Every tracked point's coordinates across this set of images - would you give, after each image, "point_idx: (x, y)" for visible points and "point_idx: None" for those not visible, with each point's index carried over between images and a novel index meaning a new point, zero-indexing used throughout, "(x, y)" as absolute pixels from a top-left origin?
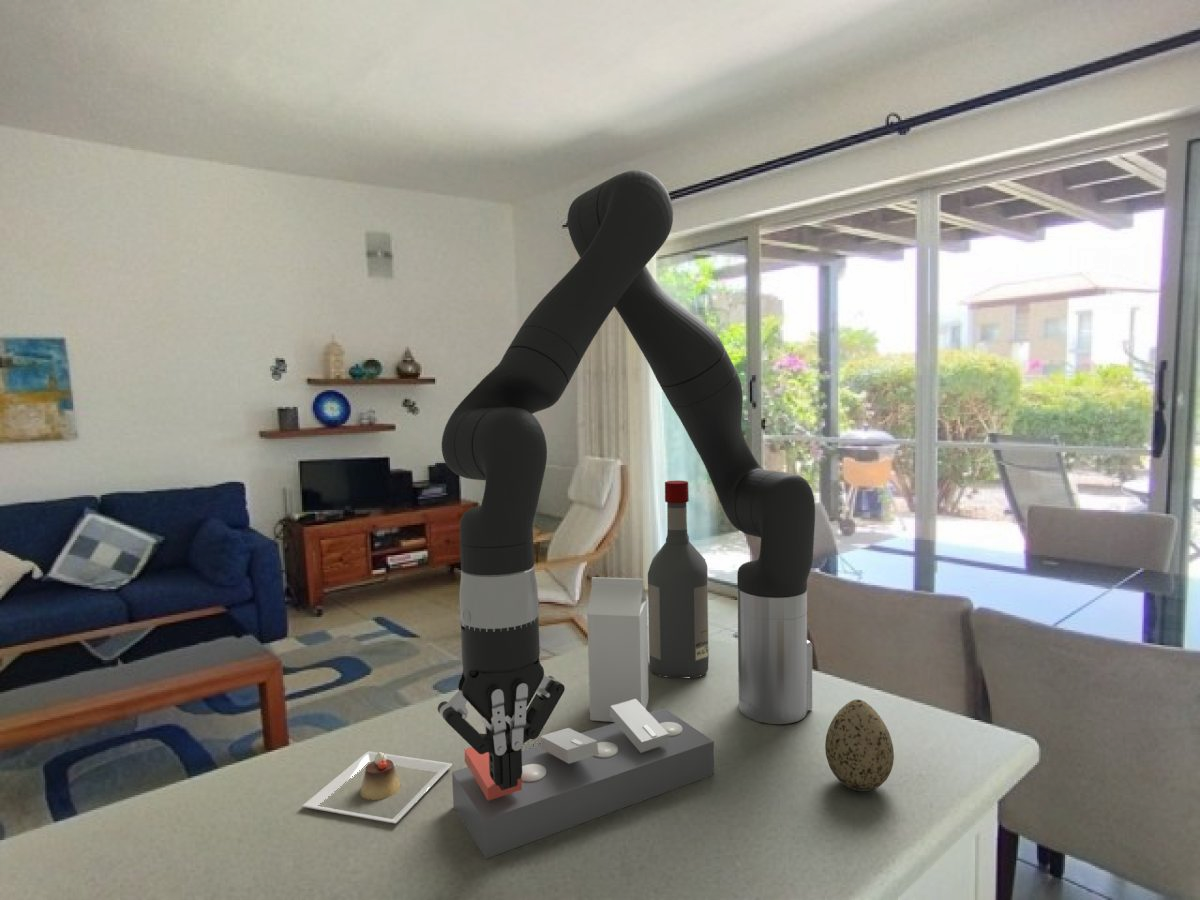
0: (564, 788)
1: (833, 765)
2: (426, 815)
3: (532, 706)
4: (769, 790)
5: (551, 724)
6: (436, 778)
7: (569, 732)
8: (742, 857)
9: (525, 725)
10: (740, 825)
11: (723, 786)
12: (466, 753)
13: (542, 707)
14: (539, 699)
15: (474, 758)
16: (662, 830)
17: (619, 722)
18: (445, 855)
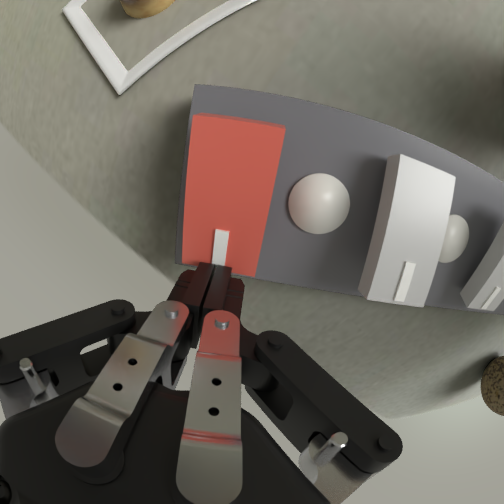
0: (327, 282)
1: (491, 378)
2: (167, 88)
3: (294, 402)
4: (475, 337)
5: (464, 33)
6: (221, 15)
7: (440, 205)
8: (384, 381)
9: (253, 378)
10: (422, 357)
11: (470, 311)
12: (192, 128)
13: (291, 439)
14: (310, 432)
15: (197, 163)
16: (382, 328)
17: (499, 245)
18: (152, 194)
